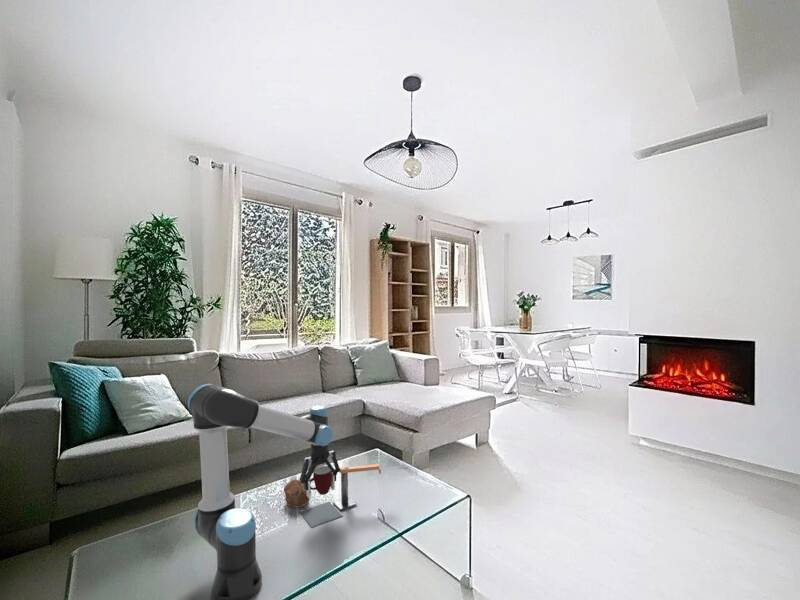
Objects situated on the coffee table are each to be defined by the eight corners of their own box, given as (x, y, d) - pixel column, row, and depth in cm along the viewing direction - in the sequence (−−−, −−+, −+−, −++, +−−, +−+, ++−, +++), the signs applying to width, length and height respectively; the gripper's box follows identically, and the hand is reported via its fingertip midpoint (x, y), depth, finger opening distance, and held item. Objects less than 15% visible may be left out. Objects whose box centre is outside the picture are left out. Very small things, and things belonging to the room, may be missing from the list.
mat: (311, 528, 158) (311, 527, 158) (299, 512, 170) (299, 511, 170) (342, 516, 166) (342, 515, 166) (329, 502, 178) (329, 501, 178)
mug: (313, 501, 162) (311, 478, 162) (306, 493, 169) (304, 471, 168) (336, 493, 168) (335, 470, 168) (328, 485, 175) (327, 464, 174)
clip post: (340, 511, 170) (340, 478, 170) (333, 503, 176) (332, 472, 176) (356, 505, 174) (356, 473, 174) (348, 498, 181) (348, 467, 181)
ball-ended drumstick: (381, 474, 176) (381, 466, 176) (340, 478, 173) (339, 471, 173) (379, 470, 180) (379, 463, 180) (339, 474, 177) (339, 467, 177)
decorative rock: (280, 502, 179) (279, 480, 178) (302, 493, 186) (301, 472, 186) (292, 513, 169) (292, 491, 169) (315, 504, 176) (315, 482, 176)
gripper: (296, 451, 158) (298, 505, 158) (347, 438, 171) (348, 488, 171) (290, 446, 164) (292, 497, 165) (340, 433, 177) (341, 481, 177)
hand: (320, 492), depth 168 cm, fingers closed on mug, 10 cm apart
